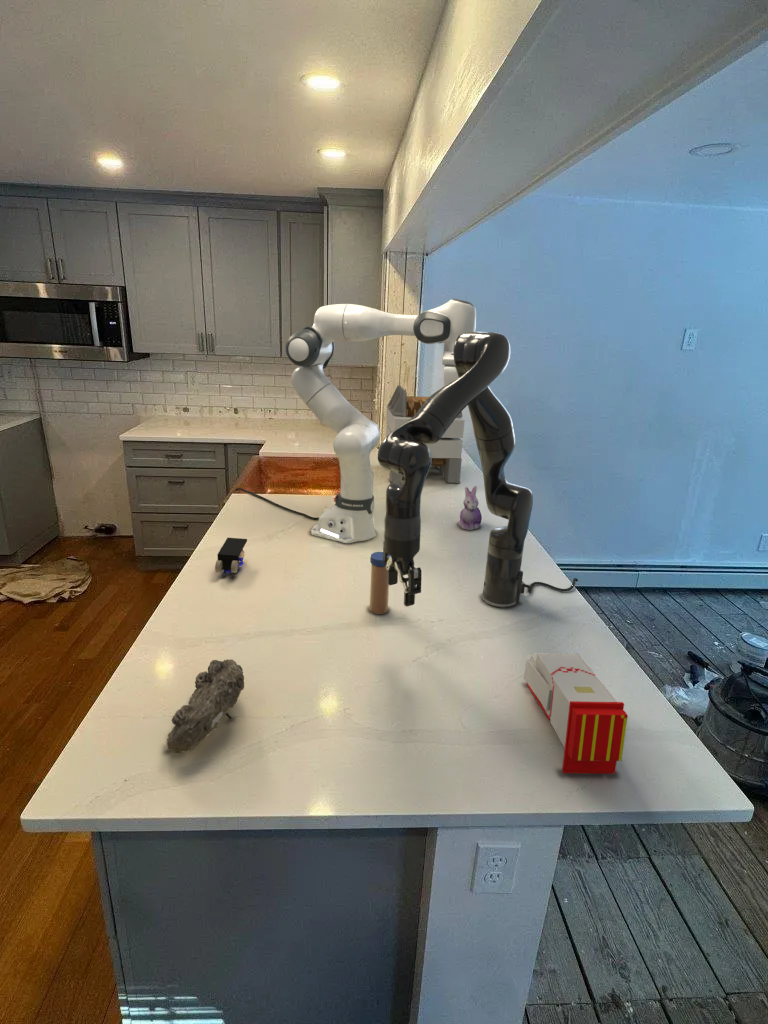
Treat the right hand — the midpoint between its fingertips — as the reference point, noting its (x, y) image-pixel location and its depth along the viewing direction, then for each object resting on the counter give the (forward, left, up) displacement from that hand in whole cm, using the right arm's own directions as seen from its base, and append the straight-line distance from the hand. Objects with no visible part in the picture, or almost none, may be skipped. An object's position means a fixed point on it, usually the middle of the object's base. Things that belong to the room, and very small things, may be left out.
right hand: (400, 594), depth 125 cm
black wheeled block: (+37, -50, -16) cm, 64 cm away
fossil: (+40, +14, -16) cm, 45 cm away
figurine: (-48, -75, -16) cm, 90 cm away
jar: (0, -20, -16) cm, 26 cm away
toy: (-26, +28, -16) cm, 41 cm away
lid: (0, -21, 0) cm, 21 cm away
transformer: (-49, -146, -16) cm, 155 cm away
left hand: (-31, -58, +32) cm, 73 cm away
